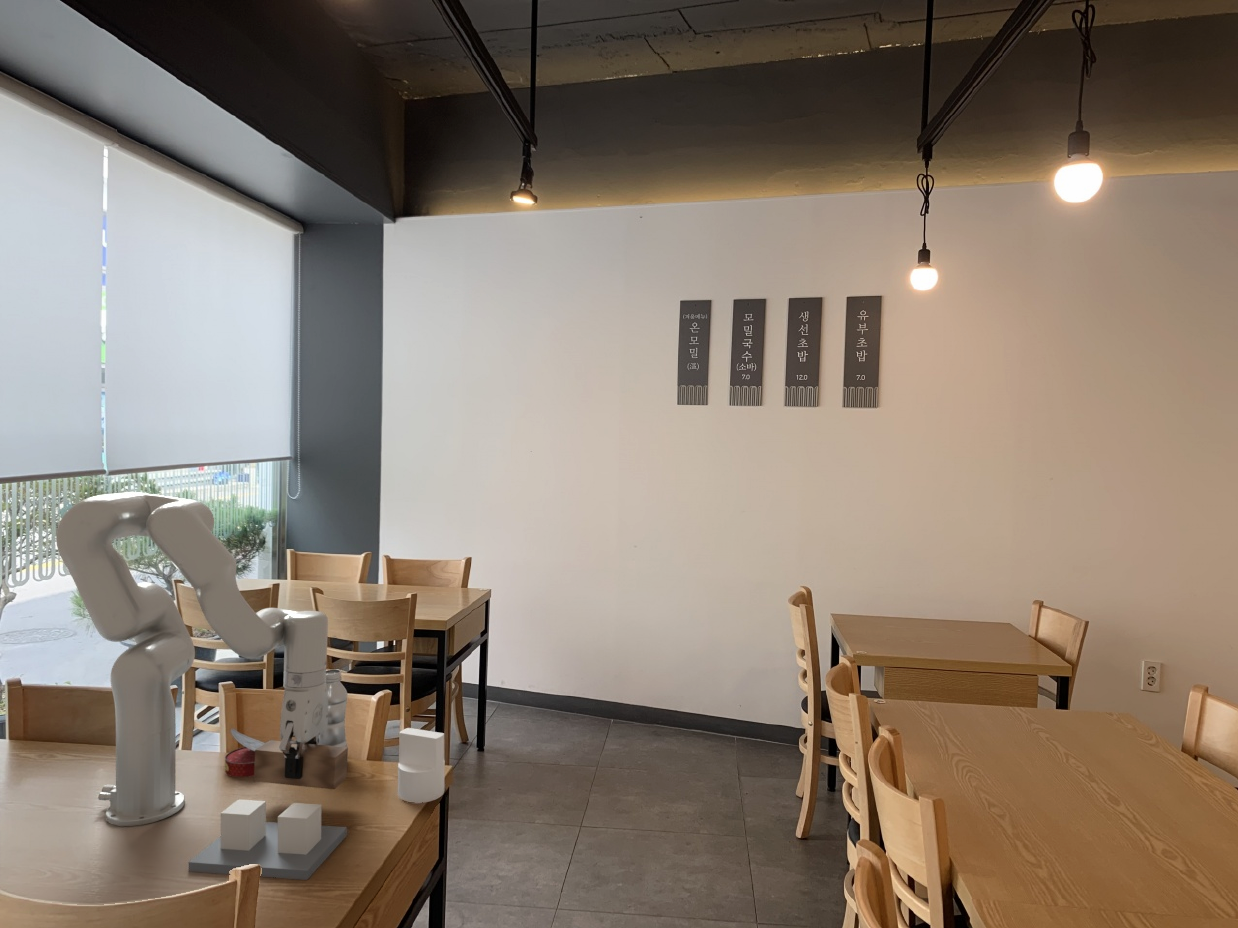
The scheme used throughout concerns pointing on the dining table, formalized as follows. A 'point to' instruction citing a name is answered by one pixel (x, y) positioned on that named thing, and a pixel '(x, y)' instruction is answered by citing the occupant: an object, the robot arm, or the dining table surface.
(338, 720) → the plastic bottle
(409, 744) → the cylinder with rectangular tab
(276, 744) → the beam
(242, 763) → the canned food
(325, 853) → the board
